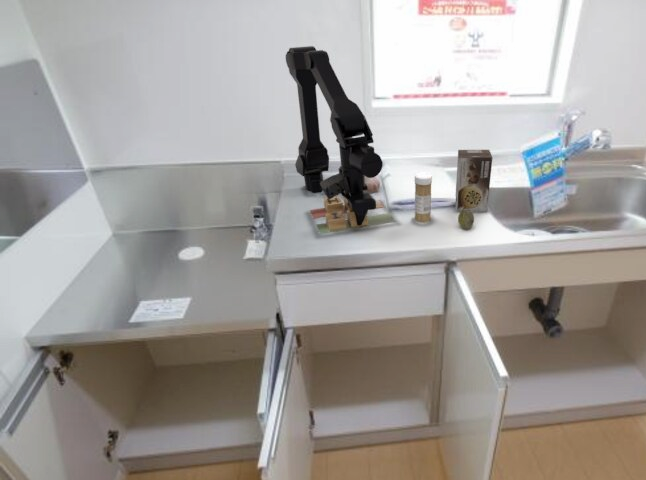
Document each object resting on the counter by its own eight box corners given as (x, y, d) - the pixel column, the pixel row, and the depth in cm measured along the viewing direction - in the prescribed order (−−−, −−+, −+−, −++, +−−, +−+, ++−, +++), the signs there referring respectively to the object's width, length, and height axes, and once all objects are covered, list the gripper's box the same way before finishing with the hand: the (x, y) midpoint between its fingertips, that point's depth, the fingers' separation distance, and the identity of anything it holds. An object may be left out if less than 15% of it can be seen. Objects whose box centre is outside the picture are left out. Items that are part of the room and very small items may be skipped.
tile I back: (344, 205, 130) (343, 195, 128) (359, 203, 131) (358, 193, 129) (348, 212, 126) (347, 202, 124) (363, 209, 128) (362, 199, 126)
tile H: (324, 208, 128) (323, 198, 126) (340, 206, 129) (339, 196, 127) (328, 215, 125) (326, 205, 123) (343, 212, 126) (342, 202, 124)
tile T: (347, 220, 122) (346, 209, 120) (363, 217, 124) (362, 207, 122) (351, 227, 119) (350, 217, 117) (367, 225, 120) (367, 214, 119)
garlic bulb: (371, 184, 144) (370, 160, 139) (386, 191, 140) (385, 166, 135) (353, 191, 140) (350, 166, 135) (368, 198, 136) (366, 172, 131)
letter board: (308, 213, 127) (307, 209, 127) (381, 202, 134) (381, 199, 133) (318, 237, 117) (318, 234, 116) (397, 224, 123) (397, 220, 122)
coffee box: (484, 202, 135) (490, 149, 125) (487, 212, 130) (493, 157, 120) (454, 202, 135) (457, 148, 124) (456, 212, 130) (460, 156, 119)
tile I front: (326, 223, 121) (325, 213, 119) (342, 221, 122) (341, 210, 120) (330, 231, 117) (328, 220, 115) (346, 228, 119) (345, 217, 117)
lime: (473, 223, 124) (474, 206, 121) (473, 231, 121) (475, 214, 117) (457, 222, 124) (458, 206, 121) (457, 230, 121) (458, 213, 118)
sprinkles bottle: (427, 217, 127) (428, 170, 118) (433, 224, 124) (434, 177, 115) (412, 219, 126) (412, 172, 117) (417, 226, 122) (418, 179, 114)
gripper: (313, 155, 116) (320, 211, 125) (328, 182, 102) (336, 242, 112) (354, 151, 119) (359, 205, 129) (375, 176, 106) (378, 234, 115)
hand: (357, 221), depth 121 cm, fingers closed on tile T, 4 cm apart
